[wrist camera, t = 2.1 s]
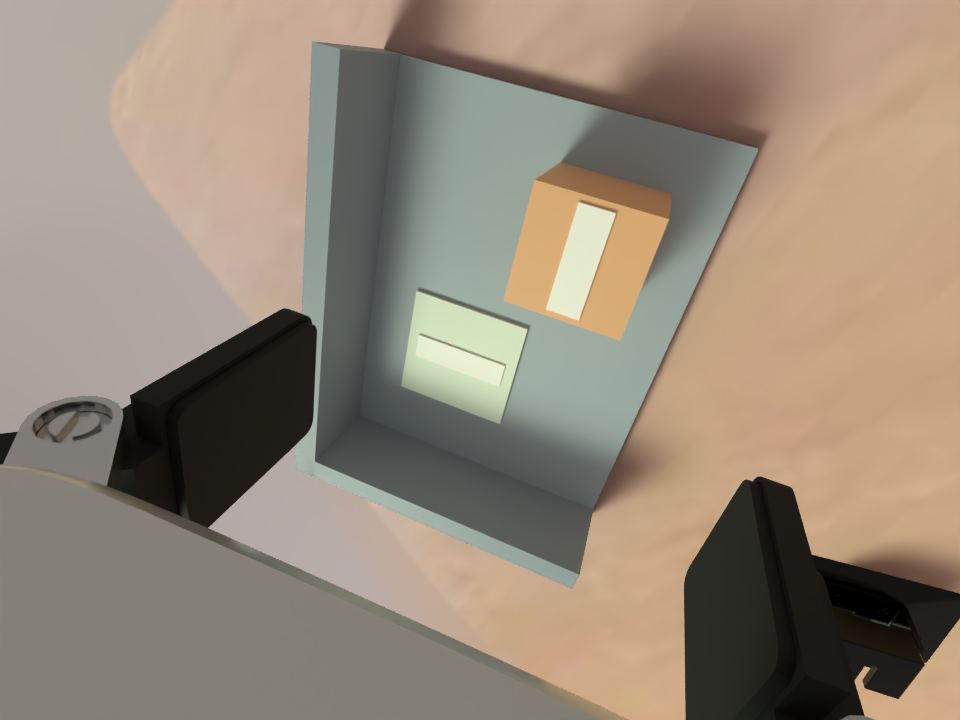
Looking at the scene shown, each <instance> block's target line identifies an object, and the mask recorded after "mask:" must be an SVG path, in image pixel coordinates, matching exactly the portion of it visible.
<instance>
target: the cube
mask: <svg viewBox="0 0 960 720" xmlns="http://www.w3.org/2000/svg"><path fill="white" fill-rule="evenodd" d="M671 197H672V194H670V193H667V192H663V191H660V190H656V189H653V188H649V187H646V186H642V185H639V184H635V183H632V182H628V181H625V180H621V179H618V178H614V177H611V176H607V175H604V174H600V173H597V172H593V171H590V170H586V169H583V168H579V167H576V166H572V165H569V164H565V163H562V162H560V163H559V164H557V165H556V166H554V167H553V168H551V169H550V170H548V171H547V172H545V173H544V174H542V175H541V176H539V177H538V178H536V179H535V180H534V183H533V187H532V191H531V195H530V199H529V203H528V207H527V210H526V214H525V218H524V222H523V226H522V230H521V234H520V238H519V242H518V245H517V249H516V253H515V257H514V261H513V265H512V269H511V273H510V277H509V280H508V284H507V288H506V292H505V296H504V300H503V301H505V302H508V303H511V304H514V305H516V306H519V307H522V308H525V309H528V310H531V311H534V312H537V313H540V314H543V315H546V316H549V317H552V318H554V319H557V320H560V321H563V322H566V323H569V324H572V325H575V326H578V327H581V328H584V329H587V330H590V331H593V332H595V333H598V334H601V335H604V336H607V337H610V338H613V339H616V340H619V341H620V340H621V338H622V335H623V333H624V330H625V328H626V326H627V323H628V321H629V318H630V316H631V313H632V311H633V308H634V306H635V303H636V301H637V298H638V296H639V293H640V291H641V288H642V286H643V283H644V281H645V278H646V276H647V273H648V271H649V268H650V266H651V263H652V261H653V258H654V256H655V253H656V251H657V248H658V246H659V244H660V241H661V239H662V236H663V234H664V231H665V229H666V226H667V224H668V221H669V216H670V207H671Z"/></svg>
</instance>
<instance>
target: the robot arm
mask: <svg viewBox="0 0 960 720" xmlns="http://www.w3.org/2000/svg"><path fill="white" fill-rule="evenodd" d="M316 347H317V328H316V326H315V325H313V324H312V320H311V318H310V317H309V316H306V315H304V314H301V313H298V312H295V311H292V310H290V309H285V308H284V309H281V310H279V311H278V312H276V313H274V314H272V315H271V316H269V317H267V318H265V319H264V320H262V321H260V322H258V323H257V324H255V325H253V326H251V327H250V328H248V329H246V330H244V331H243V332H241V333H239V334H237V335H236V336H234V337H232V338H231V339H228V340H227V341H225V342H223V343H222V344H220V345H218V346H216V347H214V348H213V349H211V350H209V351H207V352H206V353H204V354H202V355H201V356H199V357H197V358H195V359H194V360H192V361H190V362H188V363H186V364H185V365H183V366H181V367H179V368H178V369H176V370H174V371H172V372H171V373H169V374H167V375H165V376H164V377H162V378H160V379H158V380H157V381H155V382H153V383H151V384H150V385H148V386H146V387H144V388H143V389H141V390H139V391H137V392H136V393H134V394H132V395H130V398H131V404H130V405H128V406H127V407H125V408H123V409H122V408H120V406H119V405H118V404H117V403H115V402H114V401H112V400H109V399H106V398H102V397H97V396H79V397H71V398H66V399H62V400H58V401H55V402H51V403H49V404H47V405H45V406H43V407H40V408H38V409H37V410H35V411H34V412H33V413H31V414H30V415H29V416H27V418H26V419H25V420H24V422H23V423H22V425H21V426H20V429H19V431H18V432H13V433H4V434H0V720H628V719H626V718H624V717H622V716H620V715H618V714H616V713H613V712H611V711H609V710H607V709H605V708H603V707H601V706H599V705H597V704H595V703H592V702H590V701H588V700H586V699H584V698H582V697H579V696H577V695H575V694H573V693H571V692H568V691H566V690H564V689H562V688H560V687H558V686H555V685H553V684H551V683H549V682H547V681H545V680H542V679H540V678H538V677H536V676H534V675H531V674H529V673H527V672H525V671H523V670H521V669H518V668H516V667H514V666H512V665H510V664H508V663H505V662H503V661H501V660H499V659H497V658H494V657H492V656H490V655H488V654H486V653H483V652H481V651H479V650H477V649H475V648H473V647H471V646H468V645H466V644H464V643H462V642H459V641H457V640H455V639H453V638H451V637H449V636H446V635H444V634H442V633H440V632H438V631H435V630H433V629H431V628H428V627H427V626H424V625H422V624H420V623H418V622H416V621H413V620H411V619H409V618H407V617H405V616H402V615H400V614H398V613H396V612H394V611H391V610H389V609H387V608H385V607H382V606H380V605H378V604H376V603H374V602H371V601H369V600H367V599H365V598H363V597H360V596H358V595H356V594H354V593H352V592H349V591H347V590H345V589H343V588H341V587H338V586H336V585H334V584H332V583H329V582H327V581H325V580H323V579H321V578H318V577H316V576H314V575H312V574H309V573H307V572H305V571H303V570H301V569H298V568H296V567H294V566H292V565H289V564H287V563H285V562H283V561H280V560H278V559H276V558H274V557H271V556H269V555H267V554H265V553H262V552H260V551H258V550H256V549H254V548H251V547H249V546H247V545H245V544H242V543H240V542H238V541H236V540H233V539H231V538H229V537H227V536H224V535H222V534H220V533H218V532H215V531H213V530H211V529H209V528H208V527H209V526H210V525H211V524H212V523H213V522H215V521H216V520H217V519H218V518H219V517H220V516H221V515H222V514H223V513H224V512H225V511H226V510H227V509H228V508H229V507H230V506H232V505H233V504H234V503H235V502H236V501H237V500H238V499H239V498H240V497H241V496H242V495H243V494H244V493H245V492H246V491H247V490H248V489H250V488H251V487H252V486H253V485H254V484H255V483H256V482H257V481H258V480H259V479H260V478H261V477H262V476H263V475H264V474H265V473H266V472H267V471H269V470H270V469H271V468H272V467H273V466H274V465H275V464H276V463H277V462H278V461H279V460H280V459H281V458H282V457H283V456H284V455H285V454H286V453H288V452H289V451H290V450H291V449H292V448H293V447H294V446H295V445H296V444H297V443H298V442H299V441H300V440H301V439H302V438H303V437H304V436H306V434H307V433H308V432H309V430H310V428H311V426H312V423H313V414H314V392H315V369H316ZM684 618H685V699H686V720H874V719H871V718H868V717H865V716H864V712H863V709H862V706H861V702H860V699H859V695H858V692H857V689H856V685H855V682H854V678H853V675H852V672H851V668H850V665H849V662H848V658H847V655H846V651H845V648H844V645H843V641H842V638H841V634H840V631H839V628H838V624H837V621H836V617H835V614H834V611H833V607H832V604H831V601H830V597H829V594H828V590H827V587H826V584H825V581H824V579H823V577H822V575H821V574H820V573H819V572H818V571H816V569H815V565H814V561H813V558H812V554H811V551H810V547H809V544H808V540H807V537H806V533H805V530H804V526H803V523H802V519H801V516H800V512H799V509H798V505H797V502H796V498H795V494H794V491H793V489H792V488H791V487H789V486H786V485H783V484H780V483H778V482H775V481H772V480H769V479H766V478H763V477H761V476H760V477H757V478H756V479H754V481H753V482H752V481H749V480H744V481H743V482H742V483H741V485H740V486H739V488H738V489H737V491H736V493H735V494H734V496H733V497H732V499H731V501H730V502H729V504H728V506H727V507H726V509H725V510H724V512H723V514H722V515H721V517H720V518H719V520H718V522H717V523H716V525H715V527H714V528H713V530H712V531H711V533H710V535H709V536H708V538H707V539H706V541H705V543H704V544H703V546H702V548H701V549H700V551H699V552H698V554H697V556H696V557H695V559H694V560H693V562H692V564H691V565H690V567H689V569H688V571H687V574H686V577H685V582H684Z"/></svg>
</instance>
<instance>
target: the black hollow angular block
mask: <svg viewBox="0 0 960 720" xmlns="http://www.w3.org/2000/svg"><path fill="white" fill-rule="evenodd" d="M812 558H813V561H814V565H815V569H816V571H818V572H819V573H820V574H821V575H822V577H823V579H824V581H825V584H826V587H827V590H828V594H829V597H830V601H831V604H832V607H833V611H834V614H835V617H836V621H837V624H838V628H839V631H840V634H841V638H842V641H843V645H844V648H845V651H846V655H847V658H848V662H849V665H850V668H851V672H852V675H853V678H854V681H855V679H856V678H857V676H858V675H859V673H860V672H861V671H862V669H863V668H864V666H866V667H869V668H871V669H870V670H869V671H868V673H867V674H866V676H865V677H864V679H863V684H864V687H865V688H866V689H869V690H872V691H875V692H878V693H881V694H884V695H887V696H890V697H894V698H897V699H899V698H900V697H901V695H902V694H903V693H904V692H905V690H906V689H907V688H908V686H909V685H910V684H911V682H912V681H913V680H914V679H915V677H916V676H917V675H918V673H919V672H920V671H921V670H922V668H923V667H924V666H925V664H924V663H926V662H927V661H928V660H929V659H930V657H931V656H932V655H933V653H934V652H935V651H936V649H937V648H938V647H939V645H940V644H941V643H942V641H943V640H944V639H945V637H946V636H947V635H948V633H949V632H950V631H951V629H952V628H953V627H954V625H955V624H956V623H957V621H958V620H959V619H960V594H959V593H955V592H951V591H947V590H944V589H940V588H936V587H932V586H929V585H925V584H921V583H917V582H913V581H910V580H906V579H902V578H898V577H894V576H891V575H887V574H883V573H879V572H875V571H872V570H868V569H864V568H860V567H856V566H853V565H849V564H845V563H841V562H838V561H834V560H830V559H826V558H822V557H819V556H815V555H812Z"/></svg>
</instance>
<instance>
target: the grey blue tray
mask: <svg viewBox="0 0 960 720" xmlns="http://www.w3.org/2000/svg"><path fill="white" fill-rule="evenodd" d="M758 150H759V149H758V148H757V147H753V146H749V145H745V144H742V143H738V142H734V141H730V140H727V139H723V138H719V137H715V136H711V135H708V134H704V133H700V132H696V131H692V130H689V129H685V128H681V127H677V126H673V125H670V124H666V123H662V122H658V121H654V120H651V119H647V118H643V117H639V116H635V115H632V114H628V113H624V112H620V111H616V110H613V109H609V108H605V107H601V106H597V105H594V104H590V103H586V102H582V101H578V100H575V99H571V98H567V97H563V96H559V95H556V94H552V93H548V92H544V91H540V90H537V89H533V88H529V87H525V86H521V85H518V84H514V83H510V82H506V81H502V80H499V79H495V78H491V77H487V76H483V75H480V74H476V73H472V72H468V71H464V70H461V69H457V68H453V67H449V66H445V65H442V64H438V63H434V62H430V61H426V60H423V59H419V58H415V57H411V56H407V55H404V54H400V53H396V52H392V51H388V50H385V49H377V48H368V47H359V46H350V45H340V44H331V43H322V42H313V41H312V56H311V82H310V109H309V136H308V162H307V189H306V215H305V242H304V269H303V295H302V314H304V315H306V316H309V317H310V318H311V320H312V324H313V325H315V326H316V328H317V347H316V369H315V392H314V414H313V423H312V426H311V428H310V430H309V432H308V433H307V434H306V436H304V437H303V438H302V439H301V440H300V441H299V442H298V443H297V455H296V457H297V458H296V469H297V470H299V471H302V472H304V473H306V474H309V475H311V476H313V477H315V478H318V479H320V480H323V481H325V482H327V483H330V484H332V485H334V486H336V487H339V488H341V489H343V490H345V491H348V492H350V493H352V494H355V495H357V496H360V497H362V498H364V499H366V500H369V501H371V502H373V503H375V504H378V505H380V506H382V507H385V508H387V509H389V510H392V511H394V512H396V513H399V514H401V515H403V516H405V517H408V518H410V519H412V520H415V521H417V522H419V523H422V524H424V525H426V526H429V527H431V528H433V529H435V530H438V531H440V532H442V533H445V534H447V535H449V536H452V537H454V538H456V539H458V540H461V541H463V542H465V543H468V544H470V545H472V546H475V547H477V548H479V549H482V550H484V551H486V552H488V553H491V554H493V555H495V556H498V557H500V558H502V559H505V560H507V561H509V562H512V563H514V564H516V565H518V566H521V567H523V568H525V569H528V570H530V571H532V572H535V573H537V574H539V575H542V576H544V577H546V578H548V579H551V580H553V581H555V582H558V583H560V584H562V585H565V586H567V587H569V588H571V589H573V587H574V585H575V583H576V581H577V579H578V577H579V574H580V569H581V565H582V560H583V555H584V550H585V546H586V541H587V536H588V531H589V527H590V522H591V517H592V512H593V509H594V507H595V504H596V502H597V500H598V498H599V496H600V494H601V491H602V489H603V487H604V485H605V483H606V480H607V478H608V476H609V474H610V472H611V470H612V467H613V465H614V463H615V461H616V459H617V457H618V454H619V452H620V450H621V448H622V446H623V444H624V441H625V439H626V437H627V435H628V433H629V430H630V428H631V426H632V424H633V422H634V420H635V417H636V415H637V413H638V411H639V409H640V407H641V404H642V402H643V400H644V398H645V396H646V393H647V391H648V389H649V387H650V385H651V383H652V380H653V378H654V376H655V374H656V372H657V370H658V367H659V365H660V363H661V361H662V359H663V357H664V354H665V352H666V350H667V348H668V346H669V343H670V341H671V339H672V337H673V335H674V333H675V330H676V328H677V326H678V324H679V322H680V320H681V317H682V315H683V313H684V311H685V309H686V307H687V304H688V302H689V300H690V298H691V296H692V293H693V291H694V289H695V287H696V285H697V283H698V280H699V278H700V276H701V274H702V272H703V270H704V267H705V265H706V263H707V261H708V259H709V257H710V254H711V252H712V250H713V248H714V246H715V243H716V241H717V239H718V237H719V235H720V233H721V230H722V228H723V226H724V224H725V222H726V220H727V217H728V215H729V213H730V211H731V209H732V207H733V204H734V202H735V200H736V198H737V196H738V193H739V191H740V189H741V187H742V185H743V183H744V180H745V178H746V176H747V174H748V172H749V170H750V167H751V165H752V163H753V161H754V159H755V157H756V154H757V152H758ZM560 162H562V163H565V164H569V165H572V166H576V167H579V168H583V169H586V170H590V171H593V172H597V173H600V174H604V175H607V176H611V177H614V178H618V179H621V180H625V181H628V182H632V183H635V184H639V185H642V186H646V187H649V188H653V189H656V190H660V191H663V192H667V193H670V194H672V197H671V207H670V216H669V221H668V224H667V226H666V229H665V231H664V234H663V236H662V239H661V241H660V244H659V246H658V248H657V251H656V253H655V256H654V258H653V261H652V263H651V266H650V268H649V271H648V273H647V276H646V278H645V281H644V283H643V286H642V288H641V291H640V293H639V296H638V298H637V301H636V303H635V306H634V308H633V311H632V313H631V316H630V318H629V321H628V323H627V326H626V328H625V330H624V333H623V335H622V338H621V340H620V341H619V340H616V339H613V338H610V337H607V336H604V335H601V334H598V333H595V332H593V331H590V330H587V329H584V328H581V327H578V326H575V325H572V324H569V323H566V322H563V321H560V320H557V319H554V318H552V317H549V316H546V315H543V314H540V313H537V312H534V311H531V310H528V309H525V308H522V307H519V306H516V305H514V304H511V303H508V302H505V301H503V300H504V296H505V292H506V288H507V284H508V280H509V277H510V273H511V269H512V265H513V261H514V257H515V253H516V249H517V245H518V242H519V238H520V234H521V230H522V226H523V222H524V218H525V214H526V210H527V207H528V203H529V199H530V195H531V191H532V187H533V183H534V180H535V179H536V178H538V177H539V176H541V175H542V174H544V173H545V172H547V171H548V170H550V169H551V168H553V167H554V166H556V165H557V164H559V163H560Z"/></svg>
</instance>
